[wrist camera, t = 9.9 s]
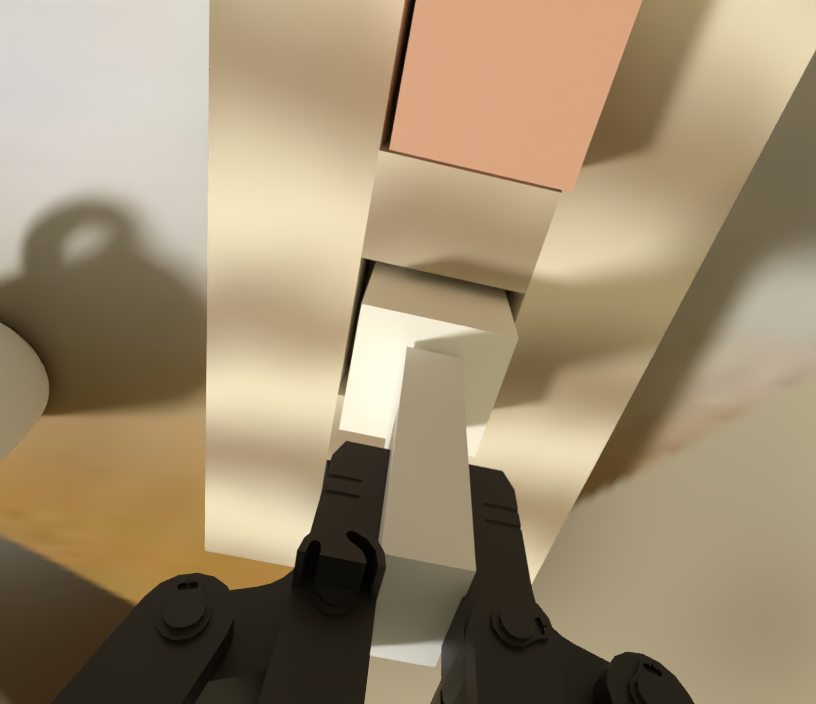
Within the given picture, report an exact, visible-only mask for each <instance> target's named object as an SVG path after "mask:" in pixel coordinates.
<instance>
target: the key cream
mask: <svg viewBox="0 0 816 704" xmlns="http://www.w3.org/2000/svg"><path fill="white" fill-rule="evenodd" d="M518 338H519V337H518V334H517V330H516V327H515V324H514V320H513V317H512V313H511V310H510V306H509V303H508V299H507V296H506V293H505V289H501V288H497V287H492V286H488V285H483V284H479V283H474V282H470V281H465V280H461V279H456V278H452V277H447V276H442V275H438V274H433V273H429V272H424V271H420V270H415V269H411V268H406V267H402V266H397V265H393V264H388V263H384V262H379V261H376V263H375V266H374V269H373V272H372V275H371V278H370V280H369V283H368V286H367V289H366V292H365V295H364V298H363V301H362V304H361V309H360V315H359V320H358V326H357V331H356V337H355V343H354V348H353V354H352V359H351V365H350V371H349V376H348V382H347V387H346V393H345V398H344V404H343V410H342V415H341V421H340V426H339V429H340V430H345V431H350V432H355V433H360V434H365V435H370V436H375V437H379V438H384V439H386V434H387V427H388V422H389V418H390V414H391V410H392V406H393V402H394V398H395V393H396V389H397V385H398V381H399V377H400V373H401V368H402V364H403V360H404V356H405V352H406V348H407V347H412V348H417V349H421V350H426V351H431V352H435V353H440V354H445V355H449V356H454V357H459V358H461V361H462V376H463V390H464V404H465V419H466V433H467V447H468V456H473V457H475V456H476V453H477V450H478V448H479V445H480V442H481V439H482V437H483V434H484V431H485V428H486V426H487V423H488V420H489V418H490V415H491V412H492V409H493V407H494V404H495V401H496V398H497V396H498V393H499V390H500V388H501V385H502V382H503V379H504V377H505V374H506V371H507V368H508V366H509V363H510V360H511V358H512V355H513V352H514V349H515V347H516V344H517V341H518Z"/></svg>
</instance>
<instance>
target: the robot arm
mask: <svg viewBox="0 0 816 704" xmlns="http://www.w3.org/2000/svg"><path fill="white" fill-rule="evenodd" d="M440 654H441V664H442V665H441V676H442V677H441V681H440V684H439V686H438V688H437V690H436V692H435V695H434V697H433V699H432V701H431V703H430V704H694V702H693V701H692V699H691V697H690V695H689V694H688V693H687V691H686V690H685V688H684V687H683V686H682V685H681V683H680V682H679V681H678V679H677V678H676V676H674V675H673V674H672V673H671V672H670V671H669V670H667V669H666V668H665V667H664V666H663V665H662V664H660V663H659V662H657V661H655V660H653V659H652V658H650V657H648V656H645V655H644V654H640V653H633V652H625V653H622V654H620V655H617V656H615V657H614V658H613V659H612V661H611V662H608V661H606V660H604V659H602V658H600V657H598V656H596V655H594V654H592V653H590V652H588V651H587V650H585V649H583V648H581V647H579V646H577V645H575V644H573V643H572V642H570V641H569V640H567V639H565V638H564V637H562V636H561V635H560V634H559V633H558V632H557V631H555V630H554V629H553V628H552V625H551V623H550V620H549V618H548V617H547V615H546V614H545V613H544V612H543V610H542V609H541V608H540V607H539V605H538V604H537V603H536V602H535V599H534V595H533V591H532V586H531V580H530V574H529V568H528V563H527V557H526V551H525V546H524V540H523V534H522V530H521V523H520V517H519V513H518V506H517V500H516V495H515V490H514V488H513V486H512V485H511V483H510V482H509V480H508V479H507V477H506V475H505V474H504V472H503V471H501V470H496V469H491V468H486V467H481V466H476V465H471V464H469V462H468V447H467V433H466V419H465V404H464V390H463V376H462V361H461V358H459V357H454V356H449V355H445V354H440V353H435V352H431V351H426V350H421V349H417V348H412V347H407V348H406V352H405V356H404V360H403V364H402V368H401V373H400V377H399V381H398V385H397V389H396V393H395V398H394V402H393V406H392V410H391V414H390V418H389V422H388V427H387V434H386V440H385V447H384V448H380V447H375V446H370V445H365V444H360V443H355V442H350V441H345V442H344V443H343V444H342V445H341V446H340V447H339V448H338V449H337V450H336V451H335V452H334V453H333V454H332V457H331V461H330V464H329V468H328V471H327V475H326V478H325V482H324V485H323V489H322V492H321V496H320V499H319V503H318V506H317V510H316V513H315V517H314V520H313V524H312V527H311V531H310V533H309V534H308V535H306V536H305V537H304V539H303V541H302V542H301V544H300V546H299V548H298V550H297V553H296V560H295V567H294V569H293V570H292V571H291V572H290V573H288V574H287V575H286V576H285V577H283V578H281V579H279V580H277V581H275V582H273V583H271V584H267V585H263V586H258V587H252V588H244V589H236V590H229V589H228V587H227V586H226V585H225V584H224V583H222V582H221V581H220V580H218V579H217V578H215V577H214V576H209V575H205V574H200V573H193V574H184V575H178V576H176V577H173V578H171V579H169V580H166V581H164V582H162V583H160V584H159V585H158V586H156V587H155V588H154V589H153V590H152V591H150V592H149V593H148V594H147V595H146V596H145V597H144V598H143V599H142V600H141V601H140V602H139V603H138V604H137V606H136V607H135V608H134V609H133V610H132V611H131V612H130V614H129V615H128V616H127V617H126V618H125V619H124V621H123V622H122V623H121V624H120V625H119V626H118V627H117V629H116V630H115V631H114V632H113V633H112V634H111V635H110V636H109V638H108V639H107V640H106V641H105V642H104V643H103V644H102V646H101V647H100V648H99V649H98V650H97V651H96V652H95V654H94V655H93V656H92V657H91V658H90V659H89V660H88V662H87V663H86V664H85V665H84V666H83V667H82V668H81V670H80V671H79V672H78V673H77V674H76V675H75V677H74V678H73V679H72V680H71V681H70V682H69V683H68V684H67V686H66V687H65V688H64V689H63V690H62V691H61V692H60V694H59V695H58V696H57V697H56V698H55V700H54V701H53V702H52V703H51V704H364V701H365V692H366V684H367V675H368V667H369V659H370V656H375V657H381V658H386V659H392V660H398V661H403V662H409V663H415V664H420V665H425V666H431V667H435V666H436V663H437V661H438V659H439V656H440Z"/></svg>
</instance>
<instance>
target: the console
mask: <svg viewBox="0 0 816 704" xmlns="http://www.w3.org/2000/svg"><path fill="white" fill-rule="evenodd" d="M415 3H416V0H210V23H209V139H208V254H207V369H206V485H205V551H210V552H215V553H221V554H226V555H231V556H237V557H242V558H247V559H253V560H258V561H263V562H269V563H274V564H279V565H285V566H290V567H295V560H296V553H297V550H298V548H299V546H300V544H301V542H302V541H303V539H304V537H305V536H306V535H308V534H309V533H310V531H311V527H312V524H313V520H314V517H315V513H316V510H317V506H318V503H319V499H320V496H321V492H322V489H323V485H324V482H325V478H326V475H327V471H328V468H329V464H330V461H331V457H332V454H333V453H334V452H335V451H336V450H337V449H338V448H339V447H340V446H341V445H342V444H343V443H344V442H345V441H350V442H355V443H360V444H365V445H370V446H375V447H380V448H384V447H385V440H386V439H384V438H379V437H375V436H370V435H365V434H360V433H355V432H350V431H345V430H340V429H339V426H340V421H341V415H342V410H343V404H344V398H345V393H346V387H347V382H348V376H349V371H350V365H351V359H352V354H353V348H354V343H355V337H356V331H357V326H358V320H359V315H360V309H361V304H362V301H363V298H364V295H365V292H366V289H367V286H368V283H369V280H370V278H371V275H372V272H373V269H374V266H375V263H376V261H379V262H384V263H388V264H393V265H397V266H402V267H406V268H411V269H415V270H420V271H424V272H429V273H433V274H438V275H442V276H447V277H452V278H456V279H461V280H465V281H470V282H474V283H479V284H483V285H488V286H492V287H497V288H501V289H505V293H506V296H507V299H508V303H509V306H510V310H511V313H512V317H513V320H514V324H515V327H516V330H517V334H518V337H519V338H518V341H517V344H516V347H515V349H514V352H513V355H512V358H511V360H510V363H509V366H508V368H507V371H506V374H505V377H504V379H503V382H502V385H501V388H500V390H499V393H498V396H497V398H496V401H495V404H494V407H493V409H492V412H491V415H490V418H489V420H488V423H487V426H486V428H485V431H484V434H483V437H482V439H481V442H480V445H479V448H478V450H477V453H476V456H475V457H473V456H468V462H469V464H471V465H476V466H481V467H486V468H491V469H496V470H501V471H503V472H504V474H505V475H506V477H507V479H508V480H509V482H510V483H511V485H512V486H513V488H514V490H515V495H516V500H517V506H518V513H519V517H520V523H521V530H522V534H523V540H524V546H525V551H526V557H527V563H528V568H529V574H530V580H531V584H532V582H533V580H534V578H535V577H536V575H537V573H538V571H539V569H540V567H541V565H542V563H543V562H544V560H545V558H546V556H547V554H548V552H549V550H550V548H551V547H552V545H553V543H554V541H555V539H556V537H557V535H558V533H559V531H560V530H561V528H562V526H563V524H564V522H565V520H566V518H567V516H568V515H569V513H570V511H571V509H572V507H573V505H574V503H575V501H576V500H577V498H578V496H579V494H580V492H581V490H582V488H583V486H584V484H585V483H586V481H587V479H588V477H589V475H590V473H591V471H592V469H593V468H594V466H595V464H596V462H597V460H598V458H599V456H600V454H601V453H602V451H603V449H604V447H605V445H606V443H607V441H608V439H609V437H610V436H611V434H612V432H613V430H614V428H615V426H616V424H617V422H618V421H619V419H620V417H621V415H622V413H623V411H624V409H625V407H626V406H627V404H628V402H629V400H630V398H631V396H632V394H633V392H634V390H635V389H636V387H637V385H638V383H639V381H640V379H641V377H642V375H643V374H644V372H645V370H646V368H647V366H648V364H649V362H650V360H651V359H652V357H653V355H654V353H655V351H656V349H657V347H658V345H659V343H660V342H661V340H662V338H663V336H664V334H665V332H666V330H667V328H668V327H669V325H670V323H671V321H672V319H673V317H674V315H675V313H676V312H677V310H678V308H679V306H680V304H681V302H682V300H683V298H684V296H685V295H686V293H687V291H688V289H689V287H690V285H691V283H692V281H693V280H694V278H695V276H696V274H697V272H698V270H699V268H700V266H701V264H702V263H703V261H704V259H705V257H706V255H707V253H708V251H709V249H710V248H711V246H712V244H713V242H714V240H715V238H716V236H717V234H718V233H719V231H720V229H721V227H722V225H723V223H724V221H725V219H726V217H727V216H728V214H729V212H730V210H731V208H732V206H733V204H734V202H735V201H736V199H737V197H738V195H739V193H740V191H741V189H742V187H743V186H744V184H745V182H746V180H747V178H748V176H749V174H750V172H751V170H752V169H753V167H754V165H755V163H756V161H757V159H758V157H759V155H760V154H761V152H762V150H763V148H764V146H765V144H766V142H767V140H768V139H769V137H770V135H771V133H772V131H773V129H774V127H775V125H776V123H777V122H778V120H779V118H780V116H781V114H782V112H783V110H784V108H785V107H786V105H787V103H788V101H789V99H790V97H791V95H792V93H793V92H794V90H795V88H796V86H797V84H798V82H799V80H800V78H801V76H802V75H803V73H804V71H805V69H806V67H807V65H808V63H809V61H810V60H811V58H812V56H813V54H814V52H815V50H816V0H642V3H641V5H640V8H639V11H638V14H637V16H636V19H635V22H634V24H633V27H632V30H631V33H630V35H629V38H628V41H627V44H626V46H625V49H624V52H623V54H622V57H621V60H620V63H619V65H618V68H617V71H616V74H615V76H614V79H613V82H612V84H611V87H610V90H609V93H608V95H607V98H606V101H605V104H604V106H603V109H602V112H601V114H600V117H599V120H598V123H597V125H596V128H595V131H594V134H593V136H592V139H591V142H590V144H589V147H588V150H587V153H586V155H585V158H584V161H583V164H582V166H581V169H580V172H579V174H578V177H577V180H576V183H575V185H574V188H573V191H572V192H568V191H564V190H560V189H556V188H551V187H547V186H543V185H538V184H534V183H530V182H526V181H521V180H517V179H513V178H509V177H504V176H500V175H496V174H491V173H487V172H483V171H479V170H474V169H470V168H466V167H462V166H457V165H453V164H449V163H444V162H440V161H436V160H432V159H427V158H423V157H419V156H414V155H410V154H406V153H402V152H397V151H393V150H389V148H390V142H391V136H392V131H393V125H394V120H395V114H396V109H397V103H398V97H399V92H400V86H401V81H402V75H403V69H404V64H405V58H406V53H407V47H408V42H409V36H410V30H411V25H412V19H413V14H414V8H415Z"/></svg>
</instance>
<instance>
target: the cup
mask: <svg viewBox="0 0 816 704" xmlns="http://www.w3.org/2000/svg"><path fill="white" fill-rule="evenodd" d="M48 398H49V381H48V377H47V373H46V371H45V368H44V366H43V364H42V362H41V360H40V359H39V357H38V356H37V354H36V353H35V351H34V350H33V349H32V348H31V346H30V345H29V344H28V343H27V342H26V341H25V340H24V339H23V338H22V337H20V336H19V335H18V334H17V333H15V332H14V331H13V330H12V329H10V328H9V327H7V326H5V325H4V324H2V323H0V463H1V462H2V461H3V460H4V459H5V458H6V457H7V456H8V454H9V453H10V452H11V451H12V450H13V449H14V448H15V447H16V446H17V445H18V444H19V442H20V441H21V440H22V439H23V438H24V437H25V436H26V435H27V433H28V432H29V431H30V430H31V429H32V428H33V426H34V425H35V424H36V423H37V421H38V420H39V418H40V417H41V415H42V413H43V412H44V410H45V408H46V405H47V402H48Z"/></svg>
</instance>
